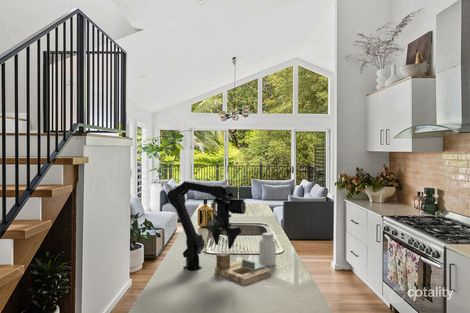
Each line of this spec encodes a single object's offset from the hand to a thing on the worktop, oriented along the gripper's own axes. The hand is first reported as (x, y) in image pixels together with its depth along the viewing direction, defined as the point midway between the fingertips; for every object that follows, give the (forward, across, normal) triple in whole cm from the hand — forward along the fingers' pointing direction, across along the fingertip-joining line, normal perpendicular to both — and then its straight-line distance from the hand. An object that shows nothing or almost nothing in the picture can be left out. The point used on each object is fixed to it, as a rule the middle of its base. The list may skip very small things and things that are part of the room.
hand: (223, 246), depth 167 cm
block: (+10, 0, 0) cm, 10 cm away
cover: (+9, +9, +10) cm, 17 cm away
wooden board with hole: (+12, +8, +5) cm, 15 cm away
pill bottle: (+12, +6, +24) cm, 27 cm away
